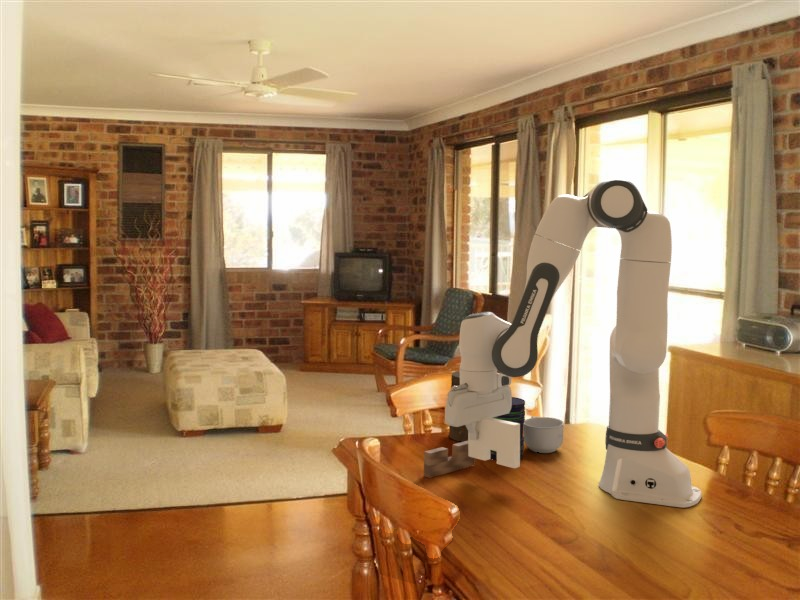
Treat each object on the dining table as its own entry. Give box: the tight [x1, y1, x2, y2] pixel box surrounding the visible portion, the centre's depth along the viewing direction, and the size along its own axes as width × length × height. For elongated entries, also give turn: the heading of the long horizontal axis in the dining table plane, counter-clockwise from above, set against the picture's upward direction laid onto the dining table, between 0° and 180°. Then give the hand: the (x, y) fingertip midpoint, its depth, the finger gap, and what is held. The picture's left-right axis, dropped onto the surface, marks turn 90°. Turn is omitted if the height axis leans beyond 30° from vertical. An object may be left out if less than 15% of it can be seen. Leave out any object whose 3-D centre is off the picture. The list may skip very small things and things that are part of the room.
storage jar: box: [489, 396, 526, 461], centre depth 213 cm, size 10×10×15 cm
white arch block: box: [468, 417, 521, 469], centre depth 191 cm, size 14×2×10 cm, turn 43°
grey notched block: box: [423, 441, 476, 479], centre depth 201 cm, size 16×2×6 cm, turn 133°
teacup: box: [523, 415, 565, 454], centre depth 222 cm, size 14×11×8 cm
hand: (479, 438), depth 195 cm, fingers closed on white arch block, 2 cm apart
